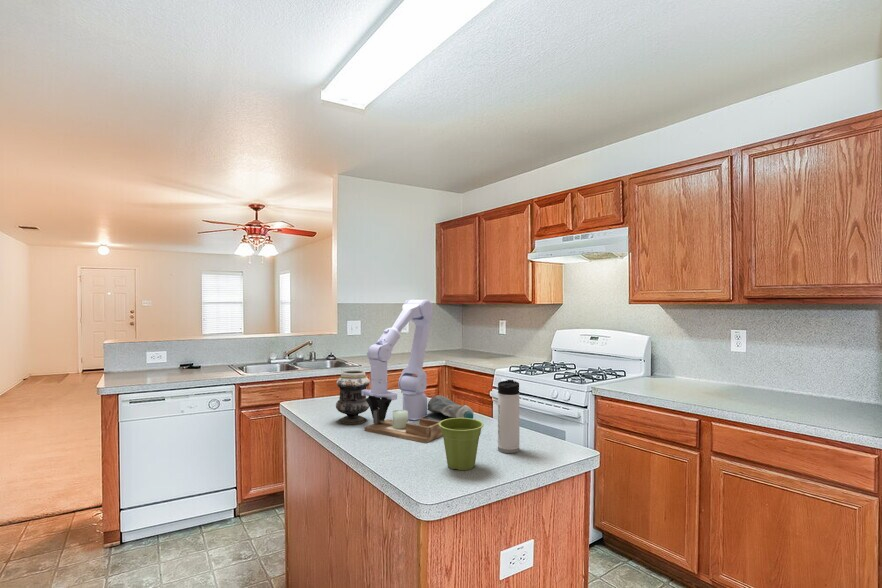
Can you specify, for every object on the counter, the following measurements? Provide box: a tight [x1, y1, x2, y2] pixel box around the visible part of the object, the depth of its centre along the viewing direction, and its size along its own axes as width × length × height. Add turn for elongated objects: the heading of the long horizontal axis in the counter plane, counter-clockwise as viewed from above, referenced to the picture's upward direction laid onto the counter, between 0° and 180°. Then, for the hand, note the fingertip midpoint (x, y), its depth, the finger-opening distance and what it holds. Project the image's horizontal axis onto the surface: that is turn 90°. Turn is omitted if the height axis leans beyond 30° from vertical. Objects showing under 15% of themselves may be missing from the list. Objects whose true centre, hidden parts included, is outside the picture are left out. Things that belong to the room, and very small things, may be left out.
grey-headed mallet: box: [372, 409, 409, 429], centre depth 157 cm, size 5×13×5 cm, turn 57°
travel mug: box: [497, 379, 520, 454], centre depth 136 cm, size 6×7×20 cm
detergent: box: [427, 394, 475, 419], centre depth 172 cm, size 13×7×25 cm
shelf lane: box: [364, 417, 443, 444], centre depth 154 cm, size 12×25×4 cm, turn 57°
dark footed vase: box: [335, 369, 371, 425], centre depth 168 cm, size 12×12×18 cm
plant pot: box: [439, 417, 485, 471], centre depth 123 cm, size 12×12×11 cm
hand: (378, 418), depth 160 cm, fingers open, 3 cm apart
